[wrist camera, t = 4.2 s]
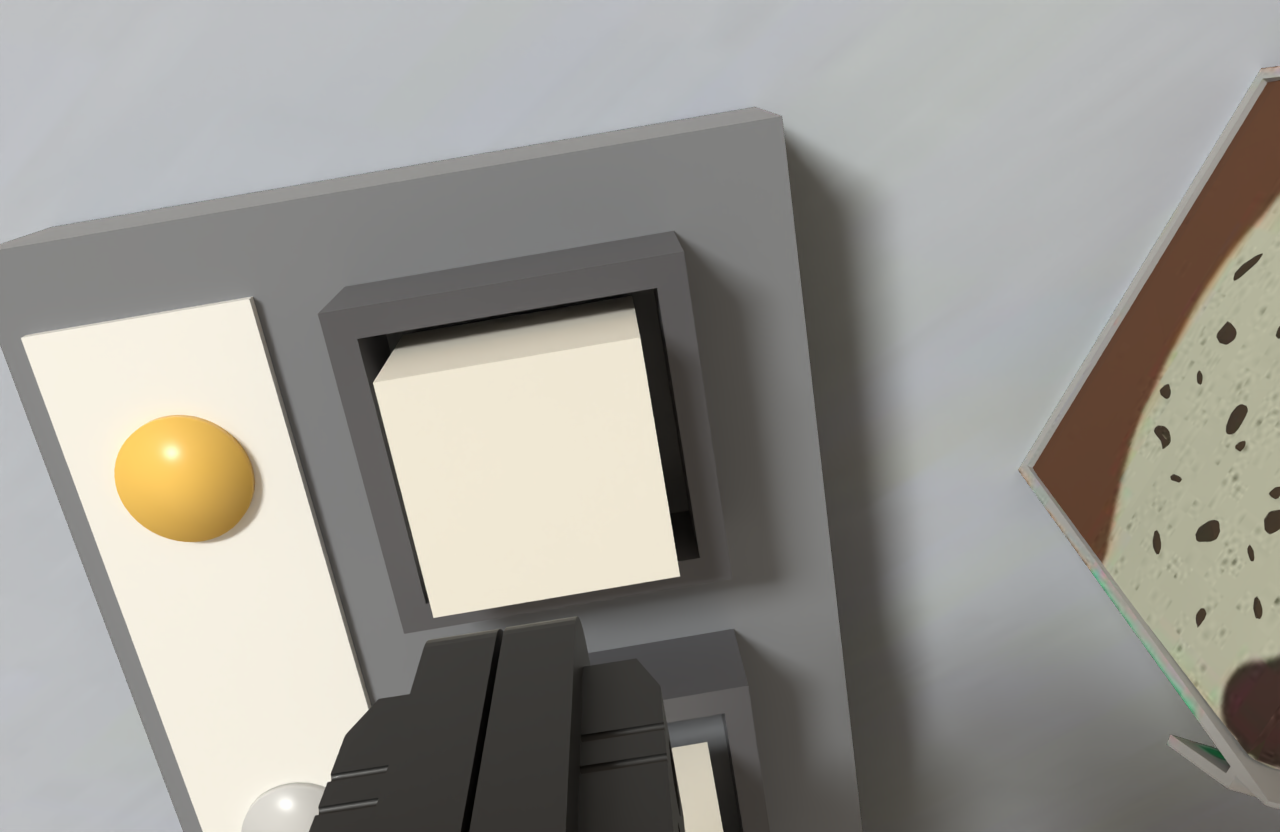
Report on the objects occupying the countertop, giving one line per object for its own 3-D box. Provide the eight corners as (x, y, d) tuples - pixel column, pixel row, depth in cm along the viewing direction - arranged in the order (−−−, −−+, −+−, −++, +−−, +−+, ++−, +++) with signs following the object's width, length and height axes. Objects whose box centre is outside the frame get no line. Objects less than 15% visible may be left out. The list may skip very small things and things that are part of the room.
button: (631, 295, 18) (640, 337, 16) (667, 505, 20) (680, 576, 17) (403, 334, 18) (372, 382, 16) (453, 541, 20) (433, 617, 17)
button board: (755, 107, 21) (805, 124, 16) (868, 1046, 29) (923, 1240, 24) (50, 227, 21) (-106, 279, 16) (363, 1130, 29) (320, 1339, 24)
